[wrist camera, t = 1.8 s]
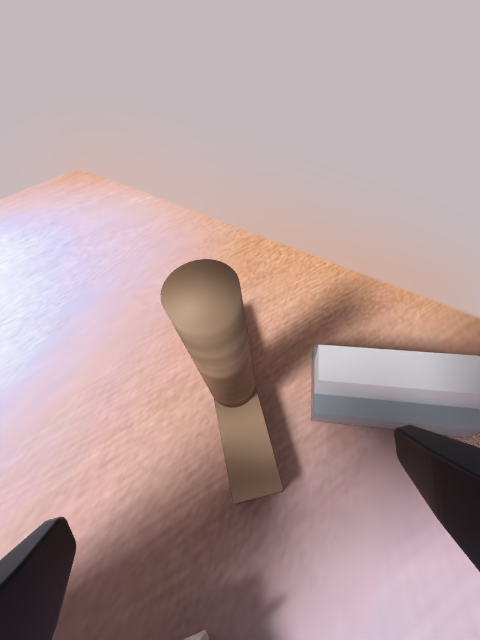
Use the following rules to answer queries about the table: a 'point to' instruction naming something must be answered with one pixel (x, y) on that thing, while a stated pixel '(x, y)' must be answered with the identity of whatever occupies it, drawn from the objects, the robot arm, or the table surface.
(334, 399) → the ridge block
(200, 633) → the usb wall charger
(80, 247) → the table surface
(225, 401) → the t bar
